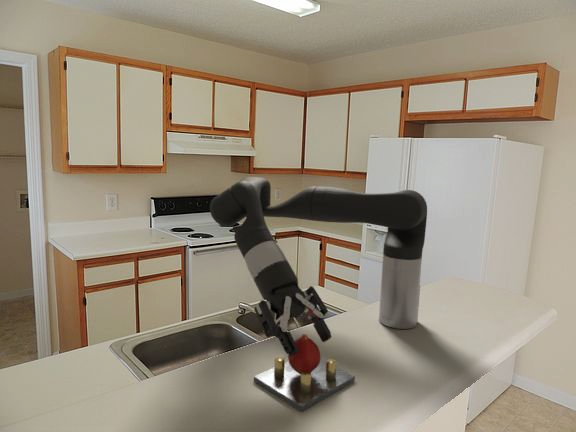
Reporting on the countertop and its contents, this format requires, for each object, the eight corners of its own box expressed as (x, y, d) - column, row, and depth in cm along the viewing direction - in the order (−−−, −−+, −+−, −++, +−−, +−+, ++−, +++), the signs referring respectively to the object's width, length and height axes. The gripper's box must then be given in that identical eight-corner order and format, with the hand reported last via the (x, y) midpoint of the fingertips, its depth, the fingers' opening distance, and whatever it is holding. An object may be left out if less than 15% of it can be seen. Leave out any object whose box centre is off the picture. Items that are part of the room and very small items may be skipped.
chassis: (307, 357, 84) (307, 338, 84) (354, 381, 76) (355, 360, 75) (253, 381, 75) (254, 360, 74) (301, 412, 66) (302, 388, 65)
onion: (283, 371, 77) (283, 329, 76) (311, 365, 79) (311, 325, 78) (295, 386, 71) (295, 342, 70) (325, 380, 73) (325, 337, 73)
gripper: (287, 274, 87) (326, 344, 80) (232, 287, 77) (271, 368, 71) (306, 254, 82) (349, 326, 76) (250, 265, 73) (294, 350, 66)
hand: (311, 346), depth 73 cm, fingers open, 8 cm apart
